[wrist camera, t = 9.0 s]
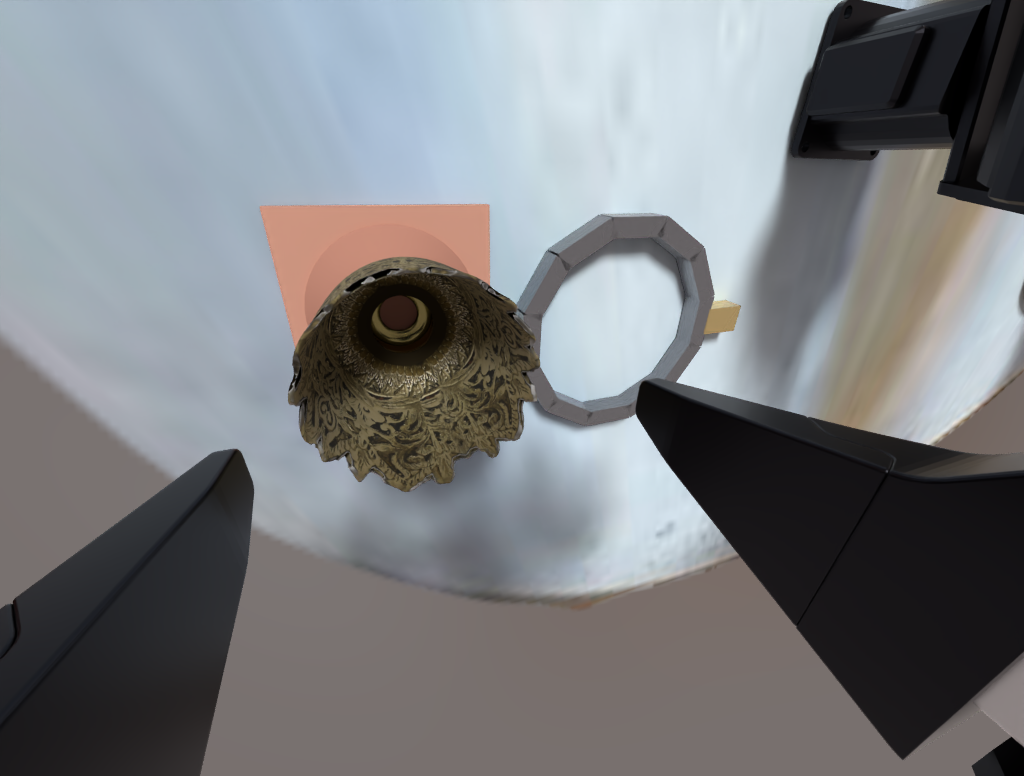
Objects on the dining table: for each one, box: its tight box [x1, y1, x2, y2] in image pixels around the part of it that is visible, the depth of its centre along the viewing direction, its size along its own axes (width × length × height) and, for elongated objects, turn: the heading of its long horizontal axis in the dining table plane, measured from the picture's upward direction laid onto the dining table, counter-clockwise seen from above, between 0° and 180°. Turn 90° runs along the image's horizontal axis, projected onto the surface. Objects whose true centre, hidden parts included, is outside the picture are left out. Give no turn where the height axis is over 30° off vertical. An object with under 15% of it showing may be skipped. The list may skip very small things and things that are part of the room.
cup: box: [288, 257, 540, 492], centre depth 15 cm, size 8×7×8 cm
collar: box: [515, 213, 741, 426], centre depth 23 cm, size 17×12×1 cm
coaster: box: [260, 204, 490, 348], centre depth 19 cm, size 9×9×1 cm
